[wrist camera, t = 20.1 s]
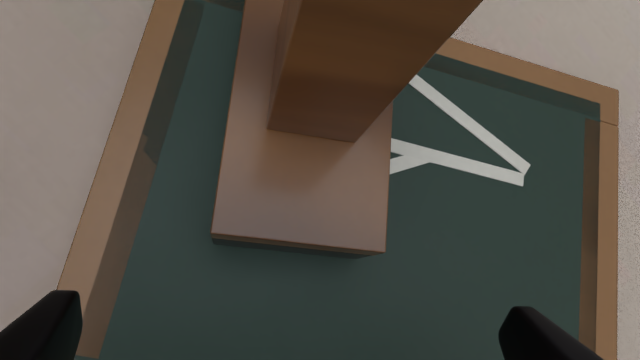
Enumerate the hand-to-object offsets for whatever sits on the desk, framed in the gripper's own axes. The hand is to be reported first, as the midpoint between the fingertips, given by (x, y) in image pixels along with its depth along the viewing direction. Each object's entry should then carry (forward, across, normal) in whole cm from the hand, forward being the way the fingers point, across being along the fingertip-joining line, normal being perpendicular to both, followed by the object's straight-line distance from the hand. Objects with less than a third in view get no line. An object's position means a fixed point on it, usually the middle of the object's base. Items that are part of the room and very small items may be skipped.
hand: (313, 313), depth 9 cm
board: (+8, -4, +3) cm, 10 cm away
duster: (+10, -1, 0) cm, 10 cm away
